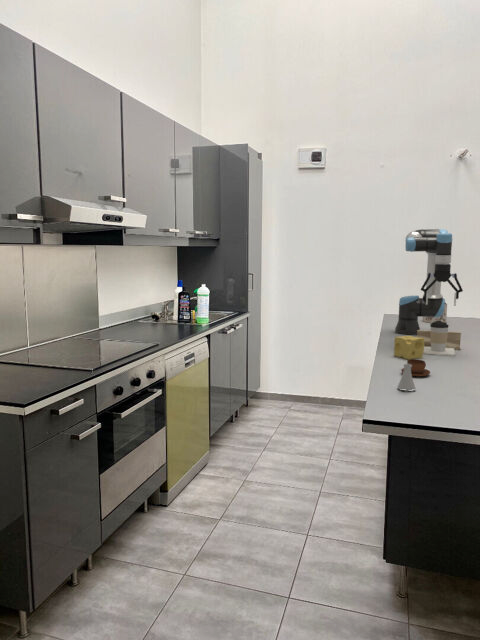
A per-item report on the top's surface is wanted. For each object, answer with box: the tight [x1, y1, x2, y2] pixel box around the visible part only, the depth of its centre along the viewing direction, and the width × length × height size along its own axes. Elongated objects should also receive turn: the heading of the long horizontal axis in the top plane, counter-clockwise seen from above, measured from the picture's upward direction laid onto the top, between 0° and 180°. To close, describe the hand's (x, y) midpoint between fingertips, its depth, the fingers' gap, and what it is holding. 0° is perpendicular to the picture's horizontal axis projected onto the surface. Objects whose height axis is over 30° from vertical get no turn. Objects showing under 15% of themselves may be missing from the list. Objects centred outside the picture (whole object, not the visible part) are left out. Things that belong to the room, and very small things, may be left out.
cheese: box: [393, 335, 424, 360], centre depth 263 cm, size 10×11×10 cm
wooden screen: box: [416, 329, 462, 351], centre depth 285 cm, size 6×22×9 cm, turn 70°
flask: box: [397, 363, 416, 390], centre depth 205 cm, size 7×7×10 cm
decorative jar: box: [422, 302, 448, 324], centre depth 373 cm, size 12×12×18 cm
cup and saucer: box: [400, 358, 431, 378], centre depth 228 cm, size 12×12×6 cm
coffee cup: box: [429, 321, 449, 351], centre depth 274 cm, size 9×9×15 cm
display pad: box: [423, 346, 456, 357], centre depth 276 cm, size 16×16×1 cm
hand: (440, 304), depth 272 cm, fingers open, 13 cm apart
